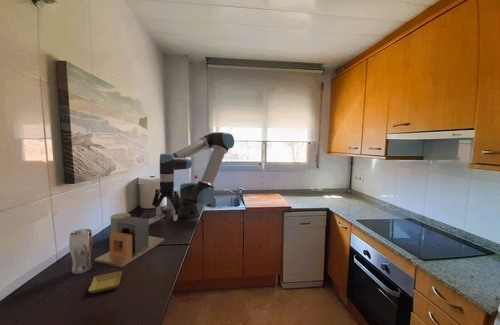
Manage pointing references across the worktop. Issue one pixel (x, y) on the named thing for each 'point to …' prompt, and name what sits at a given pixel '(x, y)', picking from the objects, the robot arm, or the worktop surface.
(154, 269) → the worktop surface
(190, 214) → the robot arm
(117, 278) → the saucer
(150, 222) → the shaft
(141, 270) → the worktop surface
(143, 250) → the block
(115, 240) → the strip
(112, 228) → the can
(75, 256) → the beer glass
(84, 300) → the worktop surface
